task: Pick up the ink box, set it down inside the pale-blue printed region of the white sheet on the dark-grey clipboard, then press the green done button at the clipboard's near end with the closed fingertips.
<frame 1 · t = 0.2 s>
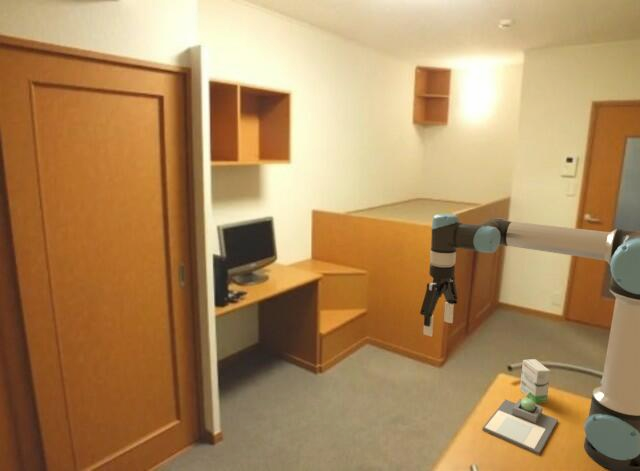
hand: (438, 328, 136), 28 cm above the table, fingers open, 13 cm apart
colouring board: (520, 425, 132), on the table
ink box: (532, 396, 148), on the table
done button: (528, 405, 136), point 4 cm above the table, slide at 0.0 cm
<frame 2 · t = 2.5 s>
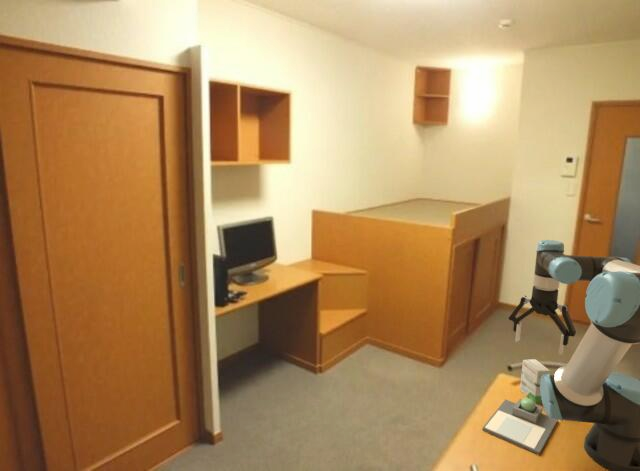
hand: (538, 346, 144), 18 cm above the table, fingers open, 13 cm apart
nothing on the table moved.
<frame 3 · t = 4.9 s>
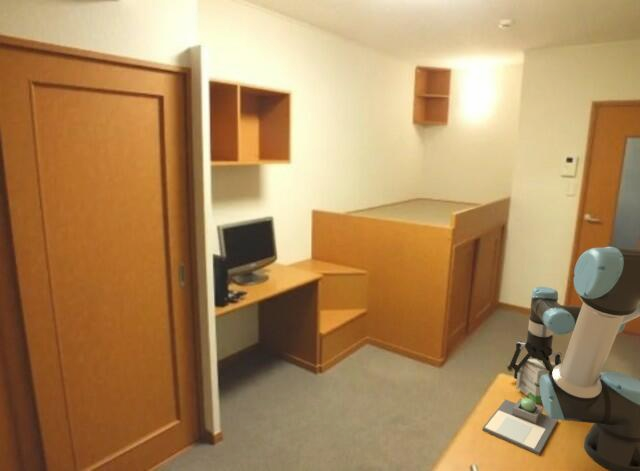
hand: (533, 393, 147), 1 cm above the table, fingers closed on ink box, 9 cm apart
ink box: (532, 396, 148), on the table, touching gripper
everything else where it was.
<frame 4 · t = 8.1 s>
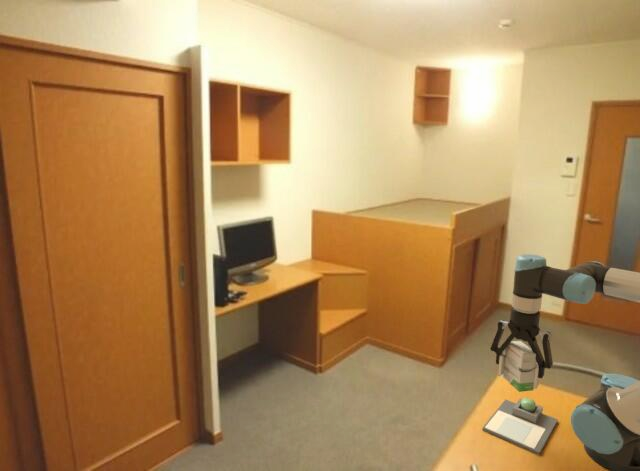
hand: (517, 380, 126), 17 cm above the table, fingers closed on ink box, 9 cm apart
ink box: (517, 384, 126), point 16 cm above the table, touching gripper
everything else where it was.
when the fingers open (3 cm above the table, at t = 11.3 s): ink box drops 1 cm, resting on colouring board.
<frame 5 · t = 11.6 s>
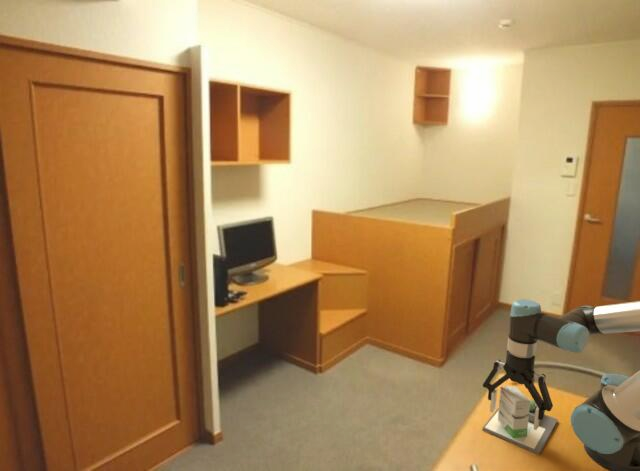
hand: (513, 418, 128), 4 cm above the table, fingers open, 12 cm apart
ink box: (511, 428, 129), point 1 cm above the table, touching colouring board
everything else where it was.
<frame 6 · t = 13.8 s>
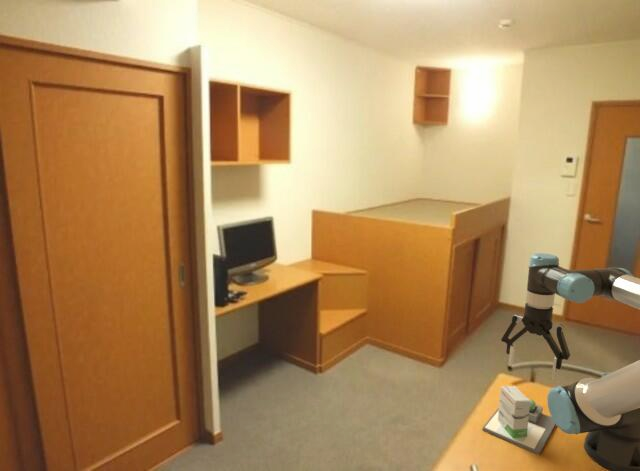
hand: (531, 370, 133), 16 cm above the table, fingers open, 12 cm apart
nothing on the table moved.
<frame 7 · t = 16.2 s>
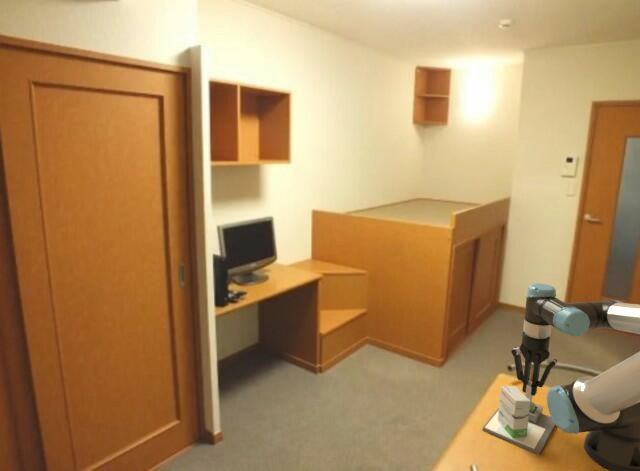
hand: (528, 402, 136), 5 cm above the table, fingers closed
done button: (527, 407, 136), point 3 cm above the table, slide at -0.6 cm, touching gripper
everything else where it was.
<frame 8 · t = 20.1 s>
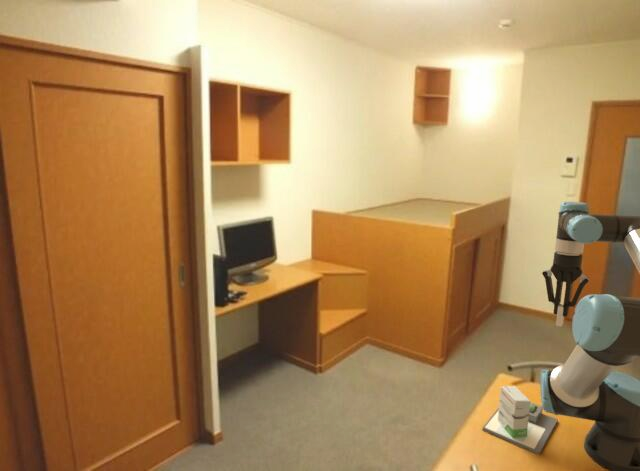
hand: (559, 324, 135), 29 cm above the table, fingers closed
done button: (527, 408, 136), point 3 cm above the table, slide at -1.3 cm
everything else where it was.
at the end: ink box inside the target area on the colouring board (0.4 cm from its centre), point 0.8 cm above the colouring board's base; ink box tilted 0°; done button slide at -1.3 cm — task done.
